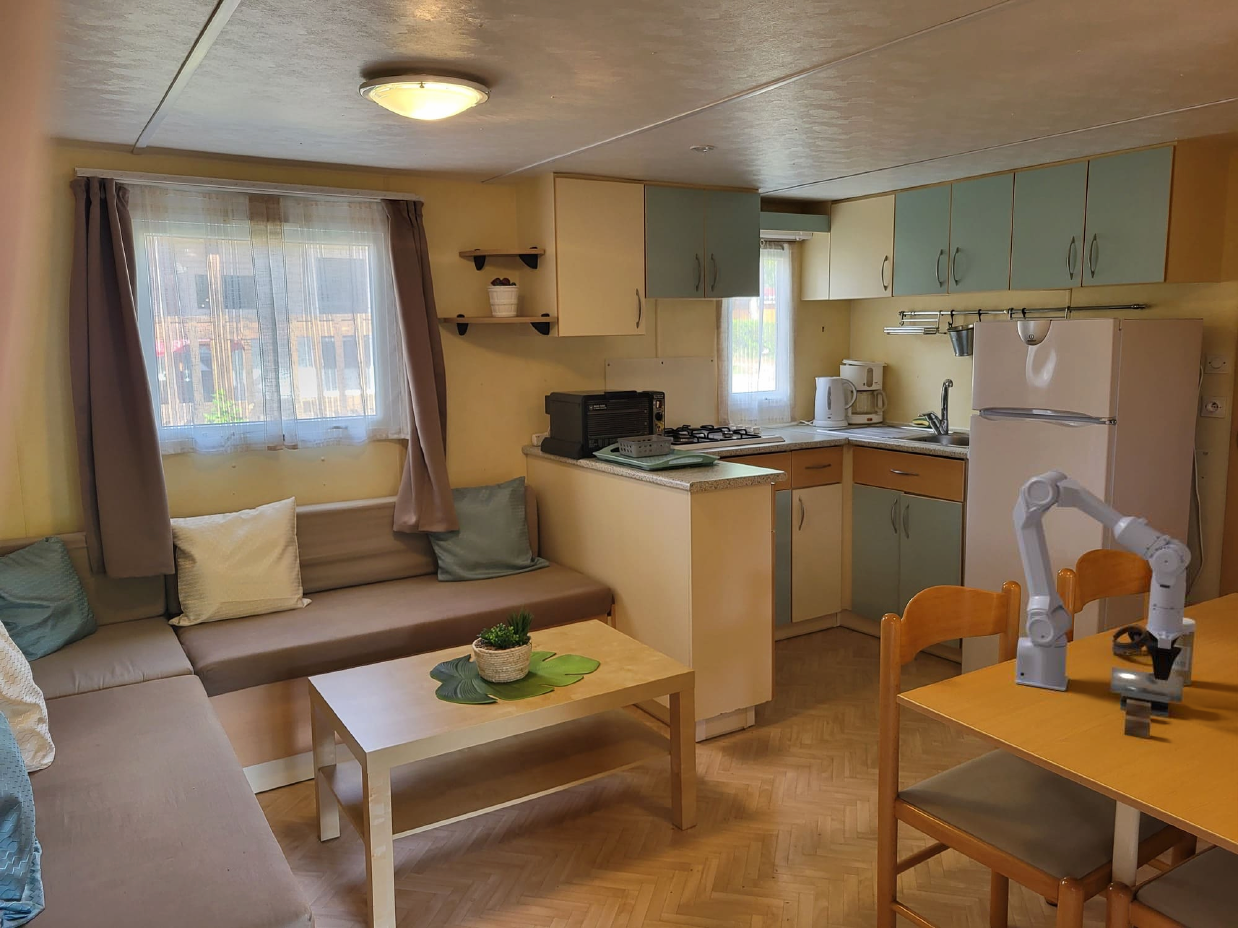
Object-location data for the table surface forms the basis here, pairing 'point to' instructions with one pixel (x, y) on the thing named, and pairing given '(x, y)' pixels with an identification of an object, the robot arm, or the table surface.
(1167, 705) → the v block
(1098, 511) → the robot arm
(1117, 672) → the axle
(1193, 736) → the table surface
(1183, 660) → the sprinkles bottle
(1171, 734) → the table surface
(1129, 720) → the blocks
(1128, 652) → the dark looped band
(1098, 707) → the table surface
